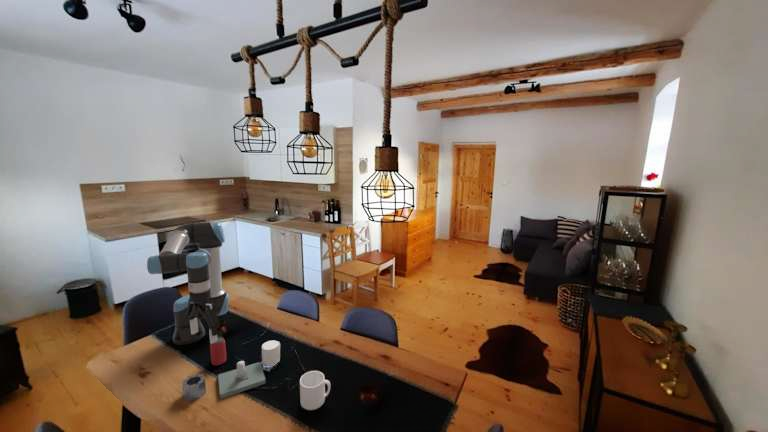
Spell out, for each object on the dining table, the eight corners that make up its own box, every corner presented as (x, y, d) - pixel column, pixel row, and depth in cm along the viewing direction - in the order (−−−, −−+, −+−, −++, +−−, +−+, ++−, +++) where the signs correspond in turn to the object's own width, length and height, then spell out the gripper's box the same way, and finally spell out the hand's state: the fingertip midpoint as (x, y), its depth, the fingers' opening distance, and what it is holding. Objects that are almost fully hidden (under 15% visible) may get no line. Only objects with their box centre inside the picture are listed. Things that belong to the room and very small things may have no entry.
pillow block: (218, 378, 137) (216, 360, 136) (260, 365, 147) (259, 348, 145) (220, 399, 126) (218, 379, 124) (265, 383, 135) (264, 365, 133)
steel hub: (184, 390, 130) (182, 378, 129) (205, 383, 134) (204, 371, 133) (183, 403, 123) (182, 390, 122) (206, 395, 127) (204, 383, 126)
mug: (296, 409, 121) (295, 386, 119) (305, 390, 131) (304, 369, 129) (327, 412, 120) (326, 389, 118) (333, 393, 130) (333, 372, 128)
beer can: (220, 367, 145) (218, 344, 143) (208, 365, 146) (206, 342, 144) (229, 358, 151) (227, 336, 149) (218, 356, 153) (216, 335, 150)
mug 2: (271, 352, 142) (257, 349, 144) (272, 369, 144) (258, 366, 146) (285, 338, 154) (271, 335, 156) (286, 354, 155) (272, 352, 157)
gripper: (173, 286, 126) (178, 333, 130) (209, 300, 114) (213, 351, 118) (191, 281, 133) (196, 325, 136) (227, 293, 121) (231, 341, 124)
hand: (204, 337), depth 127 cm, fingers open, 13 cm apart
